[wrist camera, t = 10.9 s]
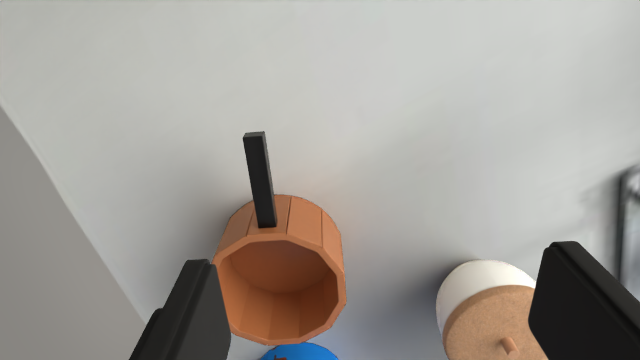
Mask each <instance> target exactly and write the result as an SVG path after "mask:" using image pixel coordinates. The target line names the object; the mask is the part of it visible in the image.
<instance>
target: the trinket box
mask: <svg viewBox="0 0 640 360" xmlns="http://www.w3.org/2000/svg"><path fill="white" fill-rule="evenodd" d="M535 286H536V282H535V281H534V280H533V279H532V278H531V277H530V276H528V275H527V274H525V273H524V272H523V271H521V270H520V269H518V268H516V267H514V266H512V265H510V264H508V263H504V262H501V261H496V260H472V261H468V262H465V263H463V264H461V265H459V266H458V267H456V268H455V269H454V270H453V271H452V272H451V273H450V274H449V275H448V276H447V278H446V279H445V280H444V282H443V283H442V285H441V287H440V289H439V292H438V295H437V301H436V318H437V323H438V328H439V332H440V335H441V338H442V341H443V346H444V350H445V352H446V355H447V357H448V359H449V360H548V358H547V357H546V355H545V353H544V352H543V350H542V349H541V347H540V345H539V344H538V342H537V341H536V339H535V337H534V336H533V334H532V333H531V331H530V328H529V325H528V316H529V311H530V307H531V303H532V299H533V294H534V290H535Z"/></svg>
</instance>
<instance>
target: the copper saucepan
mask: <svg viewBox="0 0 640 360" xmlns="http://www.w3.org/2000/svg"><path fill="white" fill-rule="evenodd" d="M243 142H244V148H245V154H246V160H247V165H248V171H249V177H250V183H251V189H252V195H253V201H251V202H249V203H247V204H246V205H244V206H243V207H241V208H240V209H239V210H238V211H237V212H236V213H235V214H234V215H232V217H230V220H229V222H228V224H227V226H226V229H225V231H224V233H223V236H222V238H221V240H220V243H219V245H218V248H217V250H216V252H215V255H214V257H213V260H212V262H211V264H215V265H216V268H217V272H218V277H219V281H220V286H221V290H222V295H223V300H224V304H225V309H226V313H227V318H228V322H229V327H230V331H231V332H232V333H233V334H235V335H236V336H239V337H242V338H245V339H248V340H251V341H254V342H257V343H260V344H263V345H268V346H270V345H285V344H300V343H301V342H302V343H303V342H305V341H307V340H309V339H311V338H313V337H315V336H317V335H318V334H320V333H322V332H324V331H326V330H328V329H329V328H331V326H332V325H333V323H334V322H335V320H336V319H337V317H338V315H339V314H340V312H341V311H342V309H343V308H344V306H345V304H346V288H345V274H344V264H343V254H342V244H341V234H340V232H339V231H338V229H337V227H336V225H335V223H334V222H333V220H332V219H331V218H330V216H329V215H328V214H327V213H326V212H325V211H324V210H322V209H321V208H320V207H318V206H317V205H315V204H314V203H312V202H310V201H308V200H305V199H302V198H299V197H295V196H289V195H274V192H273V185H272V178H271V172H270V165H269V158H268V151H267V144H266V138H265V132H264V131H263V132H250V133H245V135H244V137H243Z"/></svg>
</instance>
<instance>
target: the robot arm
mask: <svg viewBox="0 0 640 360" xmlns="http://www.w3.org/2000/svg"><path fill="white" fill-rule="evenodd" d="M528 325H529V328H530V331H531V333H532V334H533V336H534V337H535V339H536V341H537V342H538V344H539V345H540V347H541V349H542V350H543V352H544V353H545V355H546V357H547V358H548V360H640V302H639V301H638V300H637V299H636V298H635V297H634V296H633V295H632V294H631V293H630V292H629V291H628V290H627V289H626V288H625V287H623V286H622V285H621V284H620V283H619V282H618V281H617V280H616V279H615V278H614V277H613V276H612V275H611V274H610V273H609V272H608V271H607V270H606V269H605V268H604V267H603V266H602V265H601V264H600V263H599V262H598V261H597V260H596V259H595V258H594V257H593V256H592V255H591V254H590V253H589V252H587V251H586V250H585V249H584V248H583V247H582V246H581V245H580V244H579V243H578V242H576V241H564V242H553V243H551V244H550V246H549V247H548V248H545V250H544V252H543V256H542V260H541V265H540V269H539V273H538V277H537V282H536V286H535V290H534V294H533V299H532V303H531V307H530V311H529V316H528ZM230 341H231V332H230V327H229V322H228V318H227V313H226V309H225V304H224V300H223V295H222V290H221V286H220V281H219V277H218V272H217V268H216V265H215V264H210V262H209V260H207V259H200V260H188V261H186V263H185V264H184V266H183V268H182V270H181V273H180V275H179V277H178V279H177V281H176V283H175V285H174V287H173V289H172V291H171V293H170V295H169V297H168V299H167V301H166V303H165V305H164V307H163V308H158V309H157V310H155V311H154V313H153V314H152V316H151V318H150V320H149V322H148V324H147V326H146V328H145V330H144V331H143V333H142V336H141V337H140V339H139V341H138V343H137V345H136V347H135V349H134V351H133V353H132V355H131V357H130V359H129V360H226V359H227V355H228V351H229V347H230Z"/></svg>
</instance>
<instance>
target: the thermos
mask: <svg viewBox="0 0 640 360" xmlns="http://www.w3.org/2000/svg"><path fill="white" fill-rule="evenodd" d="M260 360H338V359H337V357H336V356H335V355H334V354H332V353H331V352H330V351H329V350H327V349H326V348H323V347H321V346H318V345H316V344H313V343H304V342H303V343H302V342H301V343H300V344H285V345H280V346H278V347H275V348H273V349H271V350H269V351H268V352H267V353H266V354H265V355H264V356H263V357H262V358H261V359H260Z"/></svg>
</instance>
